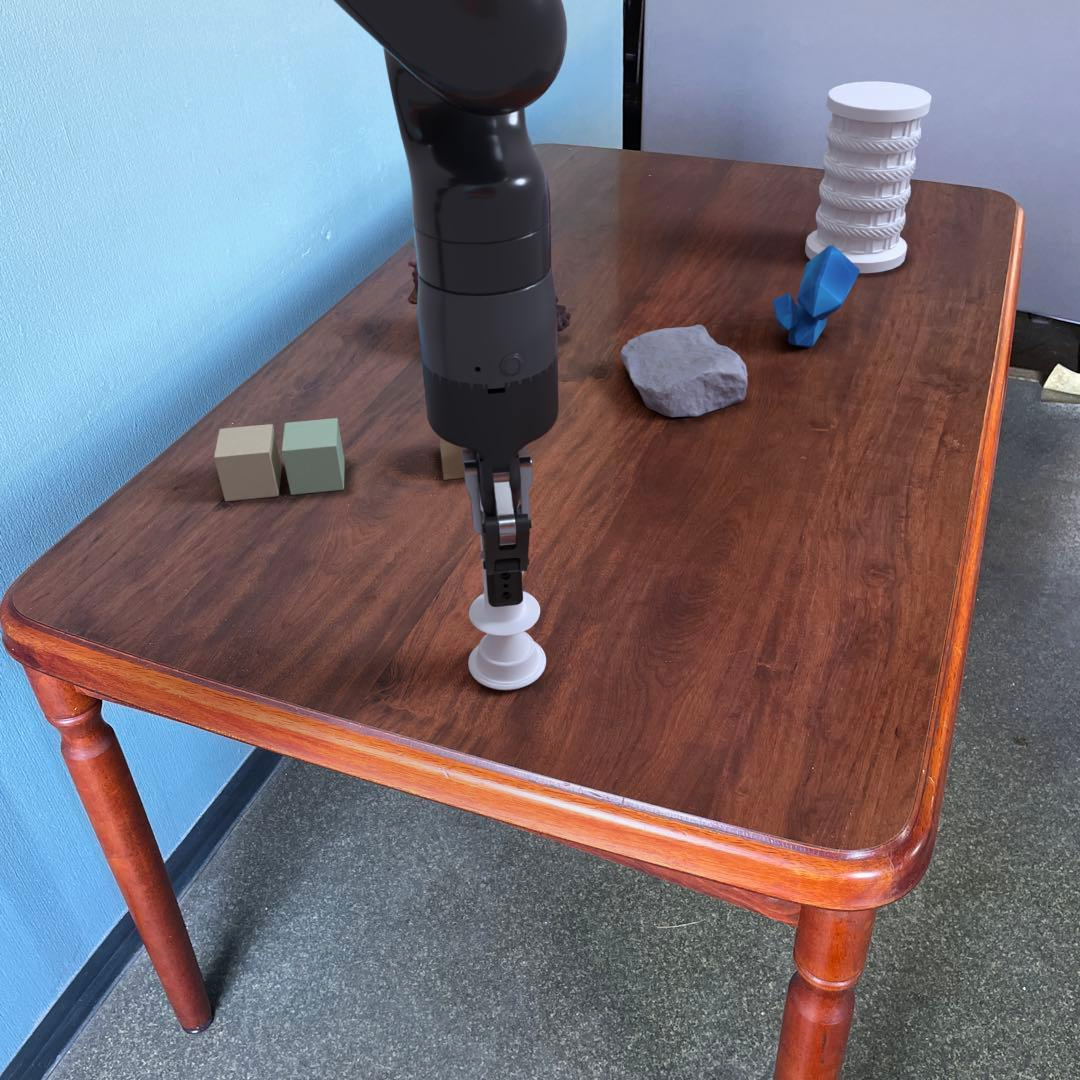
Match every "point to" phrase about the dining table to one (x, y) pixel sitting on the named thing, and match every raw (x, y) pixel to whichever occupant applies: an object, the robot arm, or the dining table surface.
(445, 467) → the block
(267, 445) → the block
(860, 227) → the decorative container
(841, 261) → the crystal
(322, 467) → the block
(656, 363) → the stone block
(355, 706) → the dining table surface
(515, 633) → the candle
